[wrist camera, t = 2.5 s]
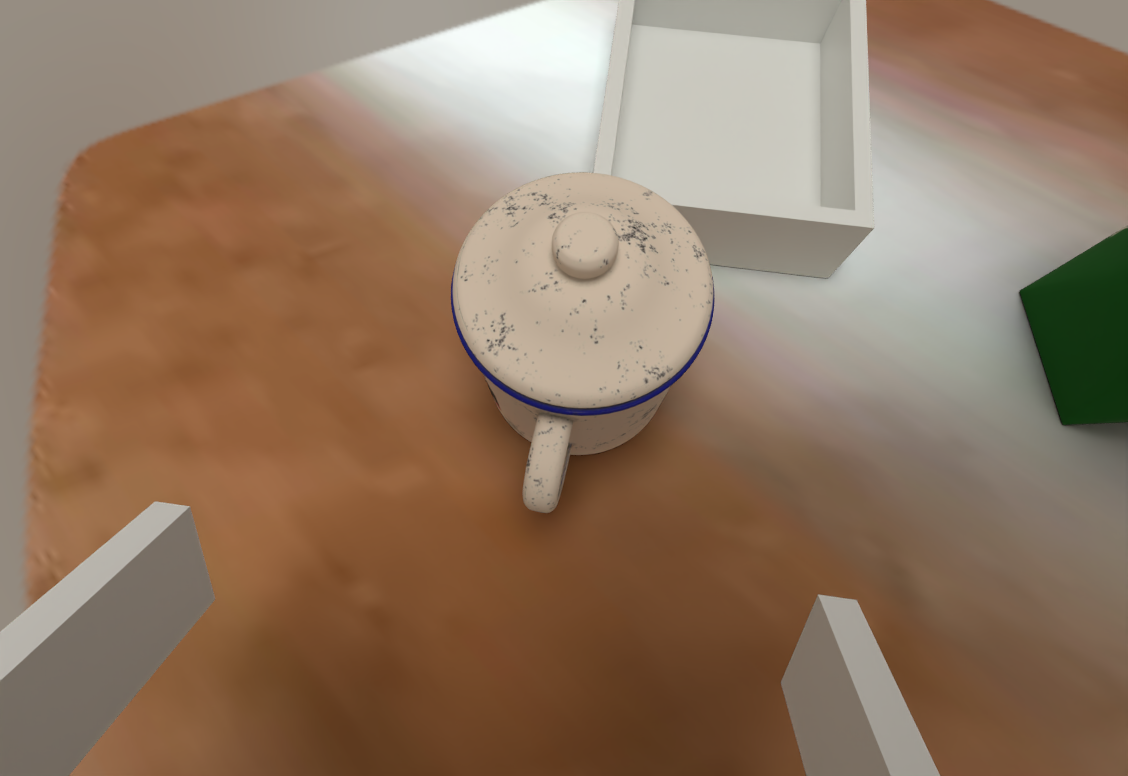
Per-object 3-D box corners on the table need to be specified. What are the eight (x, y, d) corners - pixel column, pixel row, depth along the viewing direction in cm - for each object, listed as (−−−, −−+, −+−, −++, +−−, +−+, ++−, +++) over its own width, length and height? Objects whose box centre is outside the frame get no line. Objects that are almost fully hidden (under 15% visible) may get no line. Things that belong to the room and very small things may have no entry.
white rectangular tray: (826, 49, 33) (864, -27, 29) (828, 278, 29) (873, 228, 24) (618, 28, 34) (626, -49, 30) (586, 249, 29) (590, 195, 25)
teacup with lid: (510, 272, 29) (475, 89, 18) (683, 306, 28) (759, 138, 17) (446, 500, 25) (353, 449, 14) (642, 544, 25) (705, 527, 14)
